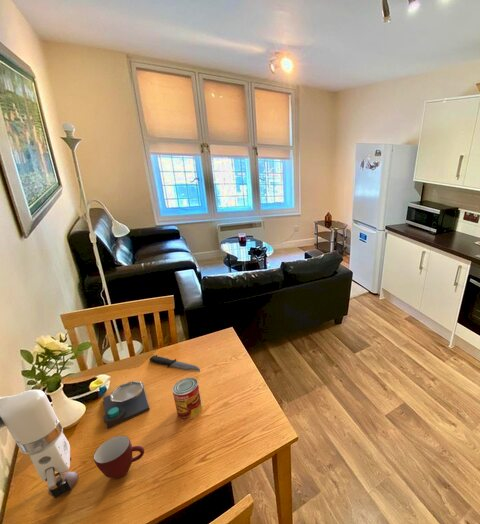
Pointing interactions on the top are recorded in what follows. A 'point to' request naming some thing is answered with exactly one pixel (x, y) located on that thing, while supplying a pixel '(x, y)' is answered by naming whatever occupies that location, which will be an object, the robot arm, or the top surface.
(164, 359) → the knife
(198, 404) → the canned food
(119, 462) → the mug
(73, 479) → the egg
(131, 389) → the shallow metal dish
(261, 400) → the top surface
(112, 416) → the tare button
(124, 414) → the scale
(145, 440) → the top surface
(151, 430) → the top surface
